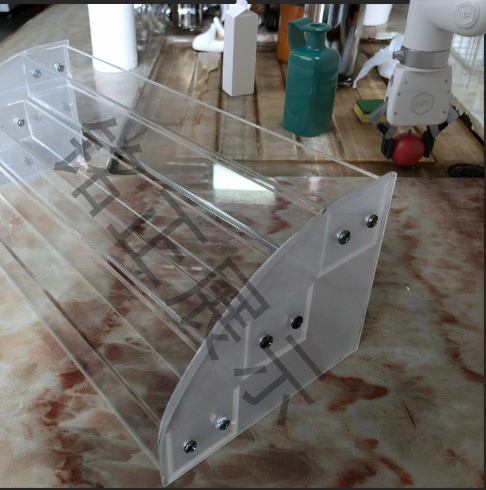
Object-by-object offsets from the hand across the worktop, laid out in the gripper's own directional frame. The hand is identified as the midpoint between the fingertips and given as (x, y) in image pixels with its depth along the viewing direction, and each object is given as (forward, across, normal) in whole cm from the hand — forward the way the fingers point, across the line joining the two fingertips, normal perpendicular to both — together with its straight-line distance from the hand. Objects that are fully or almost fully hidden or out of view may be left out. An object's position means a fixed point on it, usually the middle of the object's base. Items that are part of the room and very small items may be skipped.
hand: (405, 154), depth 109 cm
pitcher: (+3, -14, +21) cm, 25 cm away
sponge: (+3, +4, +26) cm, 26 cm away
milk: (+2, -26, +44) cm, 51 cm away
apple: (+2, 0, 0) cm, 2 cm away
